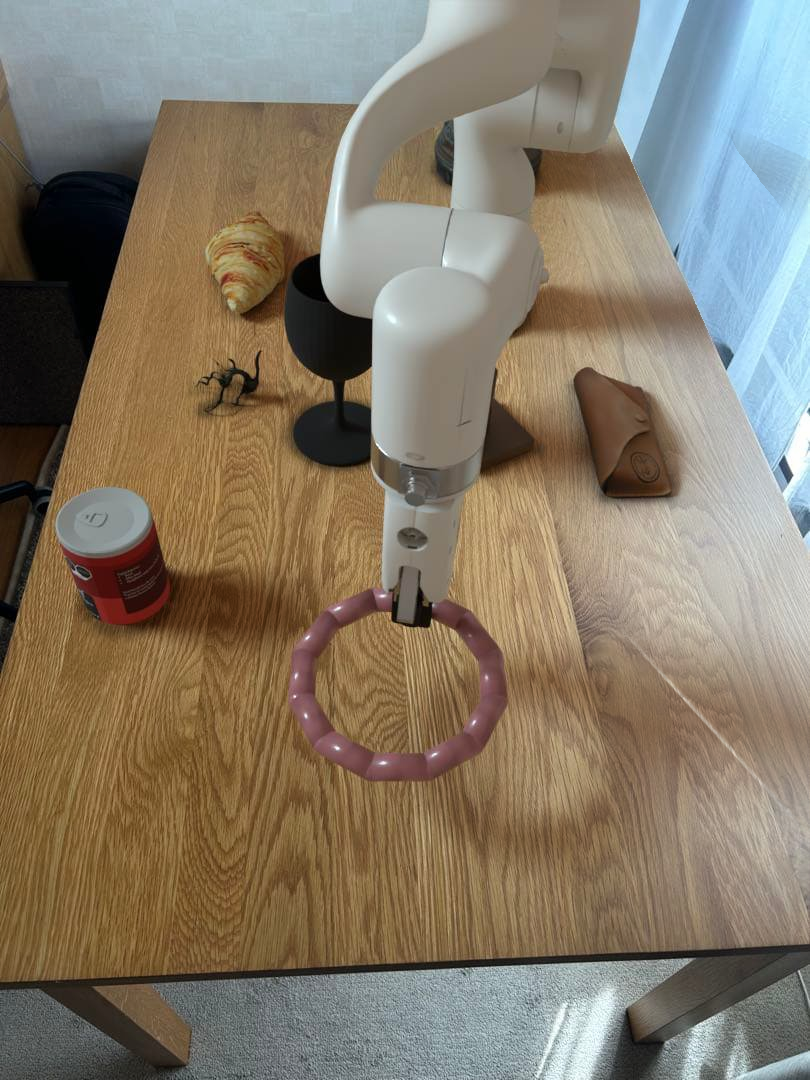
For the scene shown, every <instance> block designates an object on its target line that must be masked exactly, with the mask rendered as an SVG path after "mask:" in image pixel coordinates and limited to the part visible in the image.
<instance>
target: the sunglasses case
mask: <svg viewBox="0 0 810 1080" xmlns="http://www.w3.org/2000/svg"><path fill="white" fill-rule="evenodd" d="M572 382H573V386H574V391H575V395H576V398H577V399H576V400H577V401H578V407H579V411H580V413H581V417H582V421H583V424H584V429H585V432H586V436H587V440H588V445H589V448H590V453H591V457H592V461H593V465H594V470H595V474H596V479H597V482H598V486H599V488H600V491H602V493H603V494H604V495H605V496H606V497H607V498H619V499H621V498H625V499H626V498H627V499H635V498H639V499H640V498H654V497H655V498H656V497H664V496H668V495H671V494H672V492H673V487H672V482H671V478H670V476H669V473H668V469H667V466H666V464H665V460H664V457H663V454H662V451H661V448H660V445H659V442H658V439H657V436H656V432H655V429H654V425H653V422H652V418H651V416H650V412H649V409H648V404H647V401H646V400H647V399H646V396H645V393H644V389H643V387H641V386H634V385H631V384H629V383H626V382H624V381H620V380H618V379H615V378H613V377H610V376H607V375H604V374H602V373H600V372H598V371H597V370H595V369H594V368H593V367H592V366H591V367H590V366H585V367H582V368H581V369H579V370H578V371H577V372H576V374H575V375H574V377H573V381H572Z"/></svg>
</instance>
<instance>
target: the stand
mask: <svg viewBox="0 0 810 1080" xmlns="http://www.w3.org/2000/svg"><path fill="white" fill-rule="evenodd" d="M498 374H499V371H498V368H497V367H496V366H495V372H494V379H493V385H492V392H491V401H490V407H489V414H488V421H487V428H486V434H485V440H484V447H483V454H482V461H481V468H480V472H482V471H484V470H487V469H490V468H491V467H494V466H497V465H499V464H501V463H503V462H505V461H508V460H511V459H512V458H515V457H517V456H520V455H522V454H524V453H527V452H530V451H532V450H534V447H535V442H536V439H535V437H533V436H532V434H530V432H528V431H527V430H526V429H525V428H524V427H523V425H522V424H521V423H520V422H518V421H517V419H516V418H515V417H513V415H512V414H511V413H509V411H508V410H506V408H504V406H503V405H501V404H500V402H498V400H497V399H495V394H496V387H497V380H498Z"/></svg>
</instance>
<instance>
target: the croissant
mask: <svg viewBox="0 0 810 1080" xmlns="http://www.w3.org/2000/svg"><path fill="white" fill-rule="evenodd" d="M204 250H205V251H204V255H205V256H204V257H205V259H206V264H207V265H208V266H209V267H210V269H211V270H210V271H211V276H212V278H213V279H214V280H215V281H217V283H218V284H219V286H220V291H221V293H222V296H224V297H225V298H226V300H227V306H228V307H229V309H230V311H231V313H234V314H237V315H238V314H239V315H241V314H243V313H247V312H248V311H250V310H251V309H252V308H254V307H255V306H256V307H257V305H259V304H261V302H263V301H264V299H265V298H266V297H268V296H269V295H270V294H271V293H272V292H273V291H274V289H275V288H276V286H277V284H280V283H281V282H282V281H283V280H284V277H285V254H284V245H283V242H282V239H281V237H280V234H279V232H278V231H277V229H275V228H274V227H273V226H272V224H270V223H269V222H268V220H267V219H266V218H265V217H264V216H262V214H261V213H260V212H259V211H249V212H248V213H247V214H246V215H245V216H244V217H242V218H241V219H240V220H239V221H237V222H233V223H231V224H228V225H227V226H225V227H223V228H222V229H220V230H219V231H218V232H217V234H215V235H213V237H212V238H211V239H210V241H209V243H208V244H207V245H206V247H205V249H204Z"/></svg>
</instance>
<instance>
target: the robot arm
mask: <svg viewBox="0 0 810 1080" xmlns="http://www.w3.org/2000/svg"><path fill="white" fill-rule="evenodd" d="M641 1H642V0H429V1H428V9H427V16H426V23H425V29H424V32H423V36H422V38H421V40H420V41H419V42H418V43H417V44H416V46H415V47H413V48H412V49H411V50H410V51H408V52H407V53H406V54H405V55H404V56H402V57H401V58H400V59H399V60H398V61H397V62H396V63H394V64H393V65H392V66H390V68H389V69H388V70H386V72H385V73H384V74H383V75H382V76H381V77H380V78H379V79H378V80H377V81H376V82H375V83H374V85H373V86H372V87H371V88H370V89H369V91H368V92H367V94H365V96H364V98H363V99H362V100H361V102H360V103H359V104H358V107H357V108H356V109H355V111H354V112H353V114H352V116H351V117H350V120H349V121H348V122H347V125H346V128H345V130H344V131H343V133H342V136H341V138H340V141H339V144H338V147H337V150H336V151H337V152H336V154H335V158H334V163H333V169H332V175H331V182H330V188H329V193H328V200H327V205H326V211H325V216H324V223H323V230H322V236H321V245H320V253H321V257H320V270H321V280H322V285H323V288H324V291H325V294H326V296H327V297H328V299H329V300H330V302H331V303H332V304H333V305H334V306H335V307H337V308H338V309H339V310H341V311H343V312H345V313H347V314H350V315H353V316H359V317H364V318H369V319H373V334H372V367H371V409H372V413H371V458H370V469H371V472H372V475H373V478H374V479H375V480H376V482H377V483H378V485H379V486H381V488H383V490H384V504H383V505H384V507H383V523H382V525H383V526H382V529H383V530H382V545H381V546H382V547H381V549H382V551H381V585H382V588H383V589H384V590H385V592H386V593H387V594H388V595H389V594H390V592H393V593H392V612H391V613H390V615H391V617H390V621H391V623H394V624H397V625H401V626H404V627H406V628H414V629H415V628H422V629H429V628H430V627H431V623H432V619H431V616H432V607H433V602H437V603H441V602H442V601H444V600H445V599H447V597H448V595H449V590H450V584H451V581H452V574H453V569H454V564H455V557H456V553H457V552H456V551H457V546H458V539H459V534H460V526H461V520H462V519H461V518H462V510H463V503H464V495H465V494H466V493H468V492H469V491H470V490H471V489H472V488H473V487H474V486H475V484H476V483H477V481H478V479H479V477H480V473H481V471H480V468H481V461H482V454H483V447H484V440H485V434H486V428H487V421H488V414H489V407H490V401H491V392H492V385H493V379H494V372H495V367H496V365H497V362H498V359H499V358H500V356H501V354H502V352H503V351H504V348H505V347H506V345H507V343H508V341H509V340H510V338H511V336H512V334H513V333H514V331H516V330H517V329H518V328H520V327H521V326H522V325H523V324H524V323H525V321H526V318H527V317H528V313H529V312H530V311H531V309H533V306H534V304H535V302H536V300H537V297H538V294H539V290H540V288H541V285H543V284H547V283H548V282H549V281H550V273H549V271H548V270H547V268H546V267H544V263H545V259H544V251H543V249H542V248H541V242H540V238H539V236H538V234H537V232H536V231H535V229H534V228H533V226H531V224H530V223H531V217H532V212H533V211H532V210H533V205H534V200H535V199H534V198H535V192H536V178H535V177H534V172H533V169H532V166H531V164H530V161H529V159H528V157H527V155H526V154H525V152H524V150H523V148H536V149H542V150H545V151H553V152H560V153H562V152H563V153H572V154H588V153H592V152H593V153H594V152H595V151H596V150H598V149H600V148H601V147H602V146H603V145H604V144H605V142H606V141H607V139H608V137H609V134H610V133H611V131H612V128H613V125H614V122H615V118H616V116H617V111H618V108H619V103H620V101H621V97H622V93H623V92H622V91H623V87H624V83H625V81H626V80H625V79H626V75H627V71H628V67H629V63H630V59H631V55H632V51H633V48H634V43H635V39H636V35H637V29H638V24H639V19H640V12H641V11H640V10H641ZM451 119H453V122H454V169H453V182H452V186H451V195H450V207H448V206H440V205H433V204H427V203H426V204H425V203H417V202H412V201H411V202H410V201H403V200H394V199H385V198H376V193H377V189H378V185H379V182H380V179H381V176H382V174H383V171H384V170H385V168H386V166H387V164H388V162H389V161H390V160H391V158H392V157H393V156H394V155H395V153H397V152H398V151H399V149H401V148H402V147H403V146H404V145H406V144H407V143H408V142H409V141H411V140H412V139H414V138H415V137H417V136H418V135H420V134H421V133H424V132H426V131H427V130H430V129H432V128H433V127H436V126H438V125H441V124H444V122H446V121H449V120H451ZM420 588H421V589H420Z"/></svg>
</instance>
